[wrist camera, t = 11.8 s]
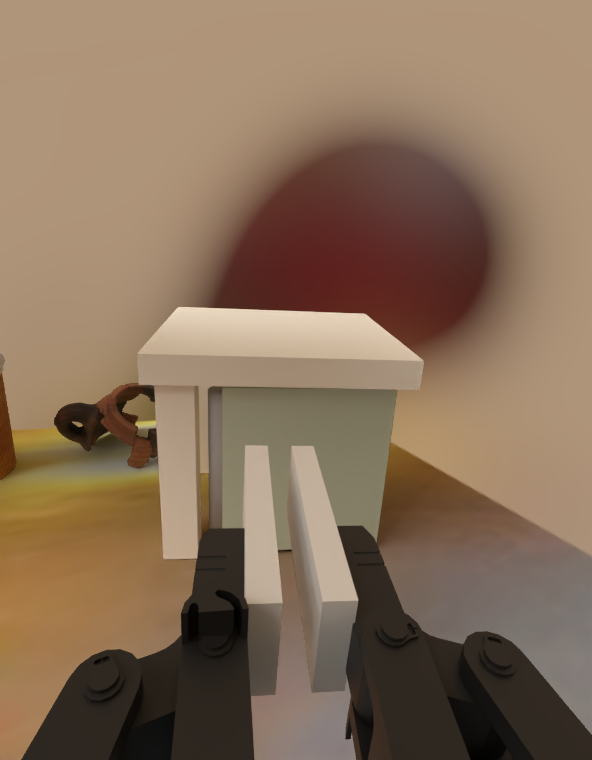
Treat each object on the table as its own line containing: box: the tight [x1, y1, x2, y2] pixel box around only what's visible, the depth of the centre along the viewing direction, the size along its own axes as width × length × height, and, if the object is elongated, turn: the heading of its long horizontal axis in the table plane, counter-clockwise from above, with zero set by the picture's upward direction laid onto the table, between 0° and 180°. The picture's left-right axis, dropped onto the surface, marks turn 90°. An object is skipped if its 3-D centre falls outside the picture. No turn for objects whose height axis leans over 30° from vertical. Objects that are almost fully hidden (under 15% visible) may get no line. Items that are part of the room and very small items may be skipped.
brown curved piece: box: [54, 383, 158, 468], centre depth 47 cm, size 12×10×8 cm
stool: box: [137, 307, 424, 559], centre depth 38 cm, size 18×16×16 cm
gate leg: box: [208, 386, 397, 550], centre depth 33 cm, size 13×2×13 cm, turn 97°
